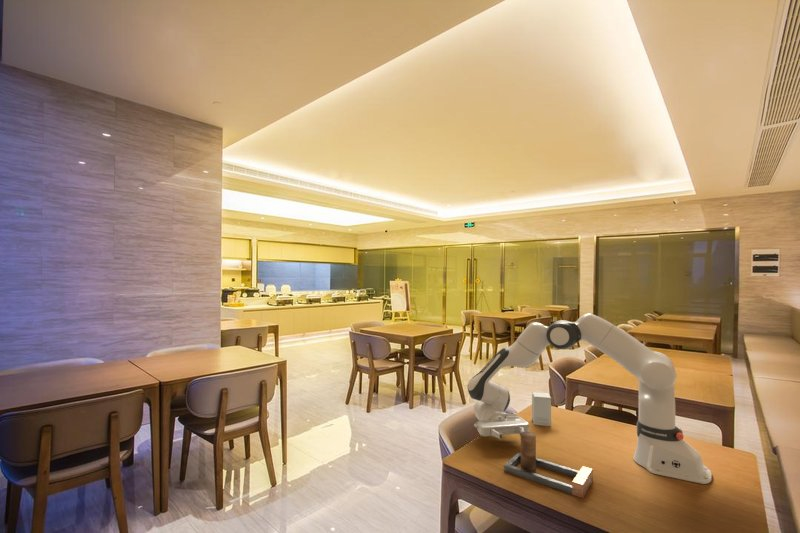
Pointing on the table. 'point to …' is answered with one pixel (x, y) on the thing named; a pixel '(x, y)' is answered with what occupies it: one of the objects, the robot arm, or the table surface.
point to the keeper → (528, 451)
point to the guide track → (578, 484)
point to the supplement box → (541, 409)
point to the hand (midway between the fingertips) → (512, 435)
